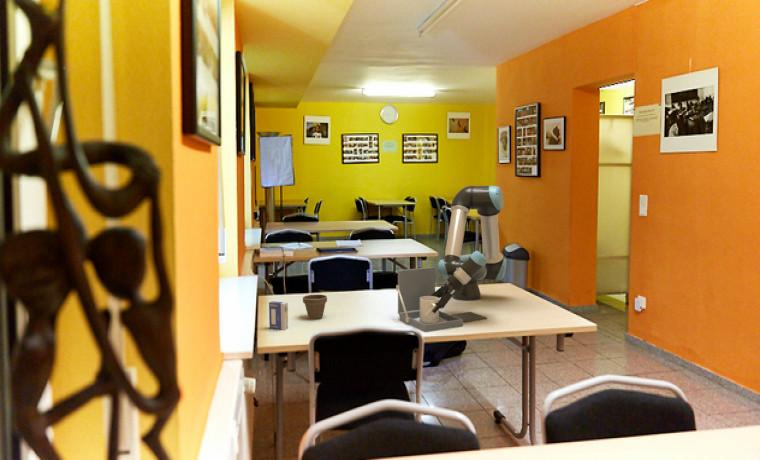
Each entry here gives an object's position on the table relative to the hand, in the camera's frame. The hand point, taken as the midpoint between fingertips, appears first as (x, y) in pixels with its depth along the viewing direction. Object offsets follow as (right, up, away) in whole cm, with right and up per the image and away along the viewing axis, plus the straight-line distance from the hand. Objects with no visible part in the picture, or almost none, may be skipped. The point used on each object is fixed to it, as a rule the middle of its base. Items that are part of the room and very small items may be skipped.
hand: (424, 313), depth 267 cm
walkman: (-65, -6, -8) cm, 65 cm away
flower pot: (-51, -4, +11) cm, 52 cm away
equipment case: (+3, -4, +1) cm, 5 cm away
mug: (+3, -5, +1) cm, 5 cm away
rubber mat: (+20, -3, +10) cm, 22 cm away
